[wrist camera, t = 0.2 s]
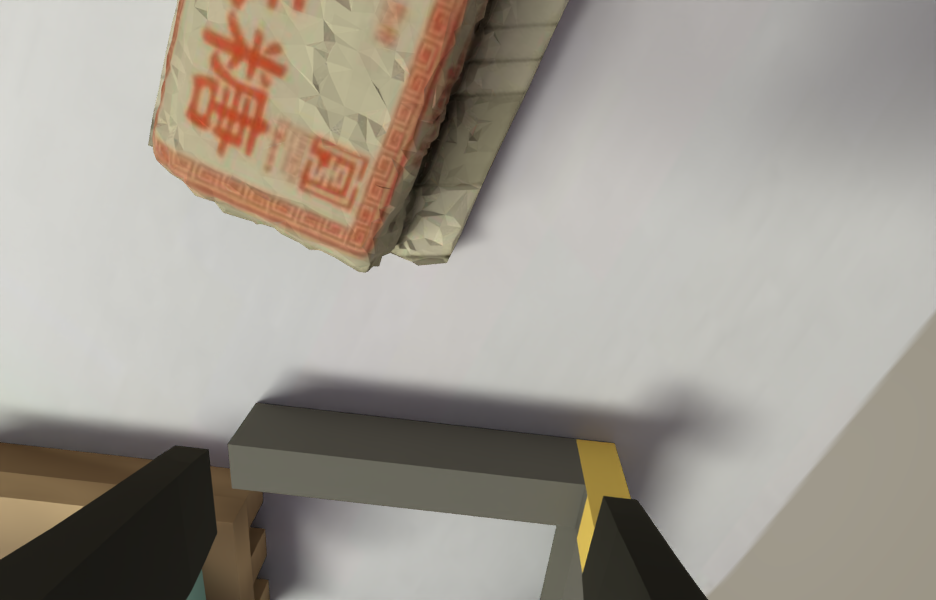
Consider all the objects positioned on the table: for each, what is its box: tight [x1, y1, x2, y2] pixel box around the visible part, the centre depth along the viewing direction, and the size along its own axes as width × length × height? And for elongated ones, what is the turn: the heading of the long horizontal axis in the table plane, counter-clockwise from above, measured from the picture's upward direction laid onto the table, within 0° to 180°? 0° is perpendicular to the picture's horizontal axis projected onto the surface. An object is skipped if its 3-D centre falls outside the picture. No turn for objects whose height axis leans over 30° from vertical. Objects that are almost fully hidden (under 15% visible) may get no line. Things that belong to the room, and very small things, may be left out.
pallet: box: [0, 442, 270, 600], centre depth 24 cm, size 8×12×3 cm, turn 84°
